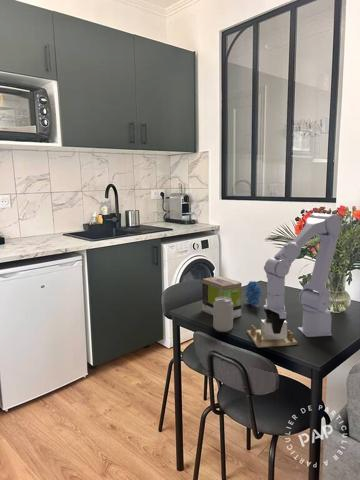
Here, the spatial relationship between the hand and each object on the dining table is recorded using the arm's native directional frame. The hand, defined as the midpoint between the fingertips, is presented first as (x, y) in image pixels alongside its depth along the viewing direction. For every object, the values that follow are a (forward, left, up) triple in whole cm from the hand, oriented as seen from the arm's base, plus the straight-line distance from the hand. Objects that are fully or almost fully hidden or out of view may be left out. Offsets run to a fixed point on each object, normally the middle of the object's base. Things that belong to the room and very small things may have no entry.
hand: (274, 330), depth 124 cm
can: (+15, -14, -4) cm, 21 cm away
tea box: (+12, -30, -4) cm, 33 cm away
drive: (0, 0, -2) cm, 2 cm away
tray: (0, -3, -4) cm, 5 cm away
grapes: (-5, -37, -4) cm, 38 cm away
